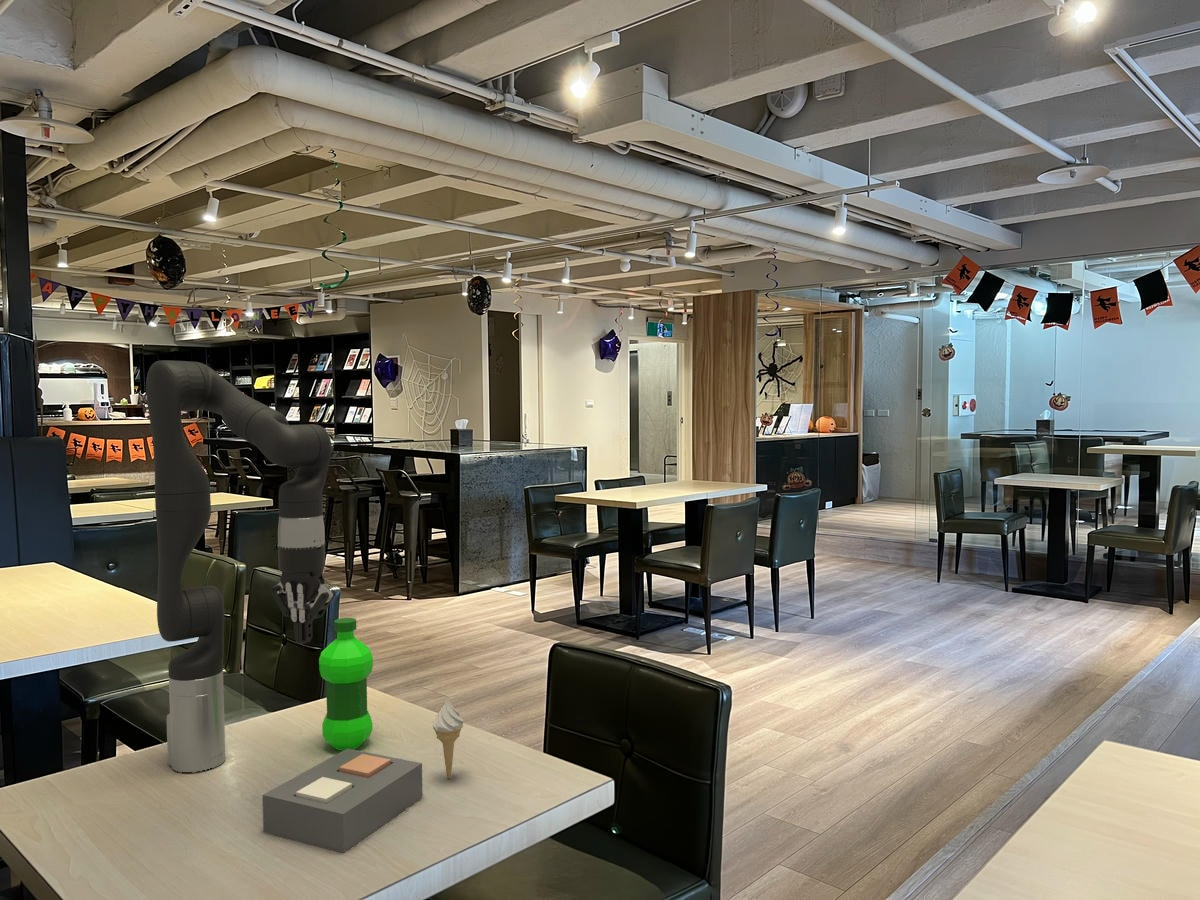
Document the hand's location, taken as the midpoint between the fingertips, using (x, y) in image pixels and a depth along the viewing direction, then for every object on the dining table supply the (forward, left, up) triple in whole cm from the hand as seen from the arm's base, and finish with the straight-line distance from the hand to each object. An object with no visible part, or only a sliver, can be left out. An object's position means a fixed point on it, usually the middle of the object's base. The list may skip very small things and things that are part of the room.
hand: (303, 642), depth 149 cm
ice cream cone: (+19, +15, -27) cm, 36 cm away
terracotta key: (+11, +2, -23) cm, 26 cm away
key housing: (+11, -3, -27) cm, 29 cm away
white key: (+11, -8, -23) cm, 27 cm away
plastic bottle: (-8, +20, -27) cm, 34 cm away
